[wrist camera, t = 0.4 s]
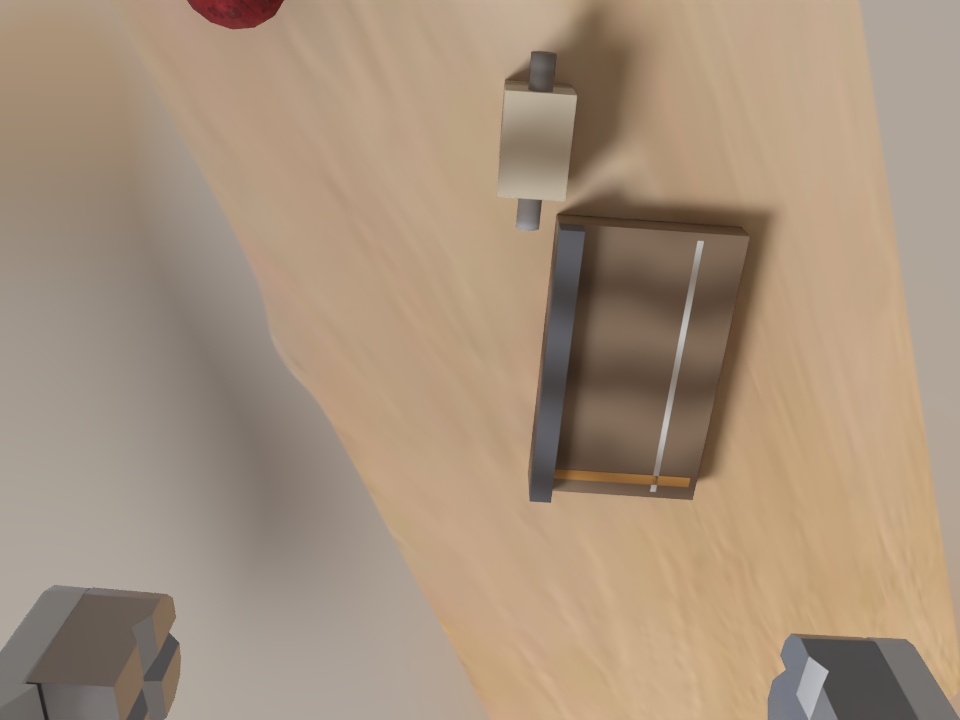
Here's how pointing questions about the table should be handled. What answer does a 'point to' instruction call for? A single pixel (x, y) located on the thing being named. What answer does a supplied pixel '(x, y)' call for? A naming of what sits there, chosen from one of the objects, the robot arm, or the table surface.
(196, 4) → the onion
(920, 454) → the table surface
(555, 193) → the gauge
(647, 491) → the board
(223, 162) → the table surface
